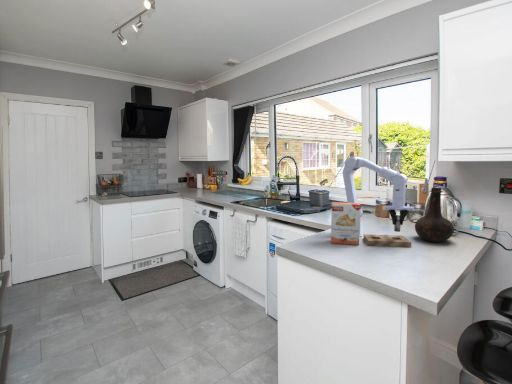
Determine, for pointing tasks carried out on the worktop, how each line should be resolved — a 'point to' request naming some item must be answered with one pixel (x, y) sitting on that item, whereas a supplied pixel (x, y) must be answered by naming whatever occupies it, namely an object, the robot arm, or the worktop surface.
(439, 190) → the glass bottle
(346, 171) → the robot arm
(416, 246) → the worktop surface
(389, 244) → the block
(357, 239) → the cracker box
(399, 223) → the drill bit
